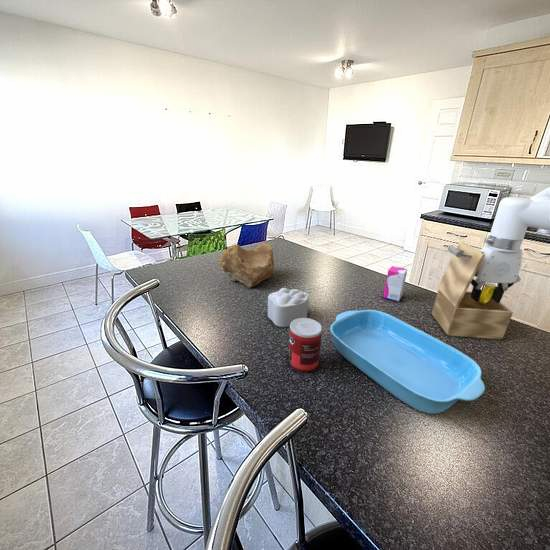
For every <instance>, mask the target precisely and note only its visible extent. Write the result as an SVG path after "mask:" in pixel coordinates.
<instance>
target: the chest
mask: <svg viewBox="0 0 550 550" xmlns="http://www.w3.org/2000/svg"><path fill="white" fill-rule="evenodd" d="M436 292H437V293H436V296H435V300H434V303H433V307H432V310H431V315H432V316H433V319H435V320H436V322H437V323H438V325H439V326H440V328H441V329H442V330H443V331H444V333H445V334H446V336H449V337H450V336H451V337H452V336H453V337H465V338H478V339H488V340H489V339H491V340H503V339H504V337H505V334H506V331H507V329H508V327H509V324H510V322H511V319H512V316H513V314H514V312H513V311H512V310H511V309H510V308H508V307H507V306H506V305H505V304H503V303H502V302H501V301H500V303H497V302H495V301H494V300H493V299H492V298H491V299H490V300H489V302H487V303H485V304H483V303H481V302H479V301H478V302H476V301H474V300H473V299H472V298H471V292H472V291H468V290H467V291H466V293H465V295H464V296H463V298H462V300H461V302H460V304H459V306H458V307H455V306H454V305H453V304H452V303H451V302H450V301H449V300H448V299H447V298H446V297H445V296H444V294H443V293H442V292H441V291H440V290H439V289H437V291H436Z"/></svg>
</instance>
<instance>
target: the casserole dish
mask: <svg viewBox="0 0 550 550" xmlns="http://www.w3.org/2000/svg"><path fill="white" fill-rule="evenodd" d="M329 330H330V334H331V337H332V342H333V345H334V347H335V349H336V351H338V353H339V354H340V355H341V356H342V357H343V358H344V359H345V360H347V361H348V362H349V363H351V364H352V365H353V366H355V367H356V368H357V369H358V370H360V371H361V372H363V373H364V374H365V375H366V376H368V377H369V378H370V379H371V380H373V381H374V382H375V383H377V384H378V385H379V386H380V387H382V388H383V389H384V390H386V391H387V392H389V393H390V394H391V395H393V396H394V397H396V398H397V399H398V400H400V401H401V402H403V403H404V404H406V405H407V406H409V407H411V408H413V409H415V410H417V411H419V412H421V413H426V414H433V415H434V414H440V413H442V412H445V411H447V410H448V409H450V408H451V407H452V406H453V405H455V404H456V403H457V402H458V401H465V402H473V401H475V400H477V399H478V398H480V397H481V396H482V395H483V394H484V392H485V390H486V386H485V383H484V382H483V380H482V379H481V378H482V374H483V372H482V368H481V367H480V365H479V364H478V363H477V362H476V361H475V360H474V359H472V358H471V357H470V356H468V355H467V354H465V353H463V352H462V351H460V350H459V349H456V348H455V347H454V346H451V345H449V344H448V343H445V342H444V341H442V340H440V339H438V338H436V337H434V336H432V335H430V334H428V333H426V332H424V331H423V330H421V329H419V328H418V327H417V328H416V327H415V326H413V325H411V324H409V323H407V322H405V321H403V320H402V319H399V318H397V317H395V316H393V315H391V314H389V313H386V312H384V311H380V310H376V309H361V310H346V311H344V312H341V313H339V314H338V315H336V317H335V321H333V323H331V325H330V328H329Z"/></svg>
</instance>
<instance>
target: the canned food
mask: <svg viewBox="0 0 550 550" xmlns="http://www.w3.org/2000/svg"><path fill="white" fill-rule="evenodd" d="M322 335H323V327H322V324H321V323H320V322H319V321H317V320H315V319H313V318H309V317H307V318H298V319H295V320H293V321H292V322H291V324H290V326H289V335H288V338H289V339H288V356H287V357H288V362H289V364H290V366H291V367H292V368H293V369H295V370H296V371H299V372H312V371H314V370H316V368H317V367H318V365H319V363H320V355H321V346H322V345H321V344H322Z"/></svg>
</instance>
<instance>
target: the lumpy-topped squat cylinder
mask: <svg viewBox="0 0 550 550" xmlns="http://www.w3.org/2000/svg"><path fill="white" fill-rule="evenodd" d="M309 298H310V296H309V294H308V293H307V292H306V291H303V290H300V289H297V288H294V289H293V288H292V289H290V288H287V287H282V288H280V289H279V290H278V291H274V292H271V293H269V294H268V296H267V318H268V319H269V320H271V321H272V322H273V324H274V325H275V326H277V327H280V328H281V327H282V328H285V327H286V328H287V327H290V324H291V322H292V321H293V320H295V319H298V318H308V312H309Z"/></svg>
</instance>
